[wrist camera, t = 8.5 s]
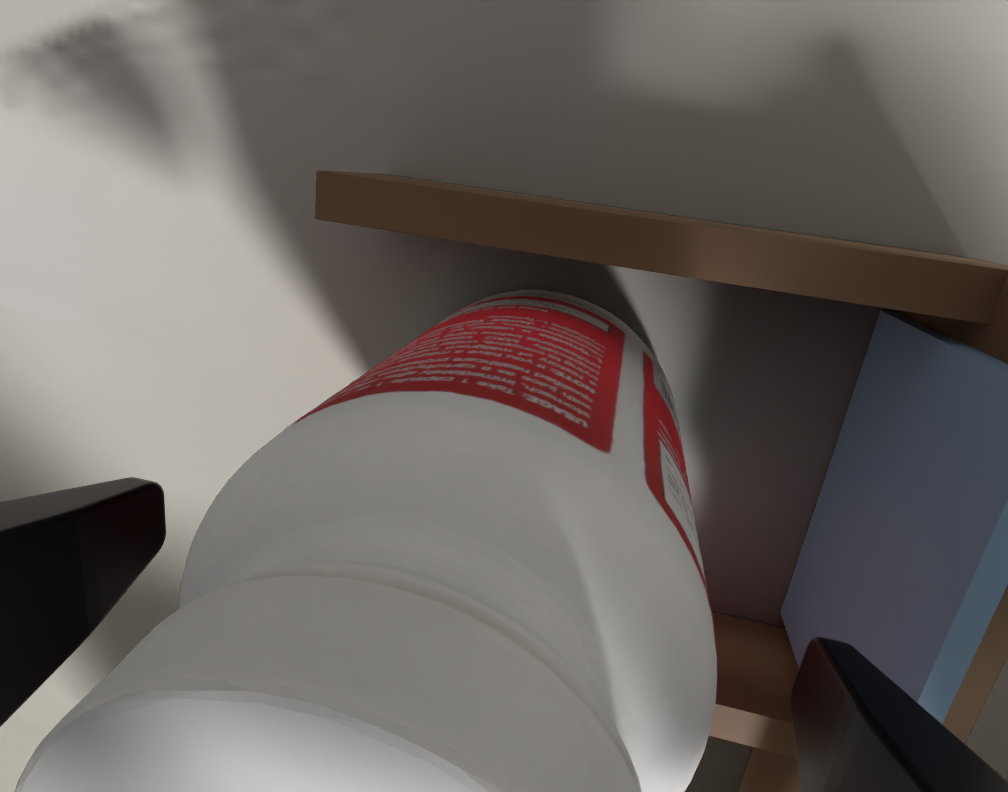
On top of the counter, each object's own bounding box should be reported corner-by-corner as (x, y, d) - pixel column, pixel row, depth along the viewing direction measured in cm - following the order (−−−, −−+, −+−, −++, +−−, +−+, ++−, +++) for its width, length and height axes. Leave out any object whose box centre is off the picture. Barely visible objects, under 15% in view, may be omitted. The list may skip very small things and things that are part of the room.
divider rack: (727, 912, 18) (763, 1208, 13) (344, 798, 20) (237, 1017, 15) (969, 257, 12) (1226, 312, 7) (383, 174, 14) (223, 165, 8)
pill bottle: (360, 409, 15) (-197, 846, 5) (537, 224, 13) (185, 338, 3) (538, 583, 16) (354, 1301, 6) (737, 432, 14) (1025, 1149, 3)
